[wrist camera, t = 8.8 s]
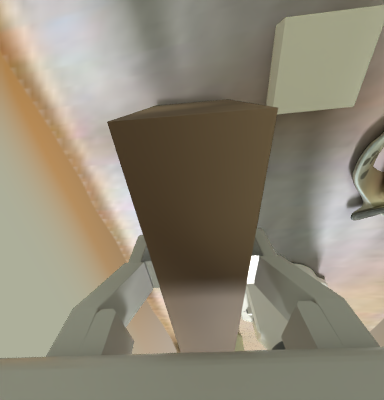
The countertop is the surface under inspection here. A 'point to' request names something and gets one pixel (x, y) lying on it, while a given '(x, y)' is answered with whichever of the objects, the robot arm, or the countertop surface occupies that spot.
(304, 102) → the tile
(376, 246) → the countertop surface
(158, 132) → the brown long block
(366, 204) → the plate of avocado toast
